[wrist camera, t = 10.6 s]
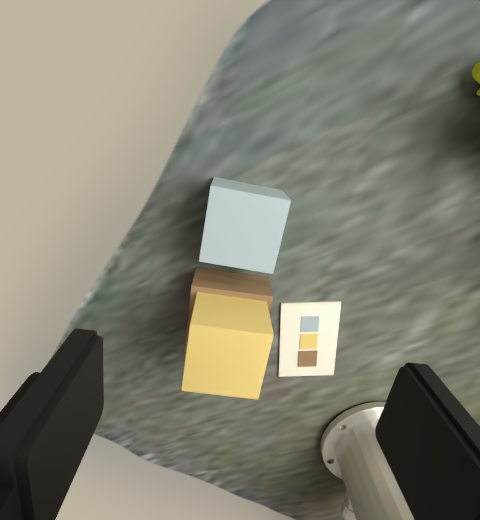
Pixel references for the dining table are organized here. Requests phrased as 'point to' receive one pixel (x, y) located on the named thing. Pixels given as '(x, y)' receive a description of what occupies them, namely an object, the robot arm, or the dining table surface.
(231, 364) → the mustard brick
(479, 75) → the bird rattle
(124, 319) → the dining table surface
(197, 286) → the base brick
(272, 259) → the bluegrey brick
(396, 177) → the dining table surface
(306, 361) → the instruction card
